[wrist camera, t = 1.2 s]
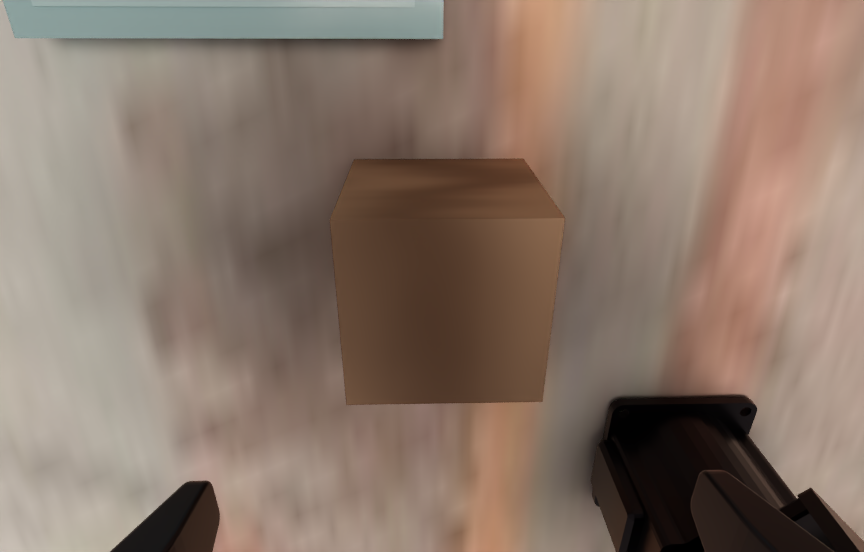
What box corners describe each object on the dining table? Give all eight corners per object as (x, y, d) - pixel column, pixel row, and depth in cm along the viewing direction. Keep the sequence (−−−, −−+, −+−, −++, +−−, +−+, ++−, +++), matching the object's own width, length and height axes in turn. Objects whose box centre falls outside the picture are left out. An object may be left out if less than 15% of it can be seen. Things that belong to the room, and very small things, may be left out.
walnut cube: (523, 158, 19) (564, 218, 14) (511, 304, 22) (542, 401, 16) (354, 159, 19) (329, 219, 13) (363, 305, 21) (346, 404, 16)
